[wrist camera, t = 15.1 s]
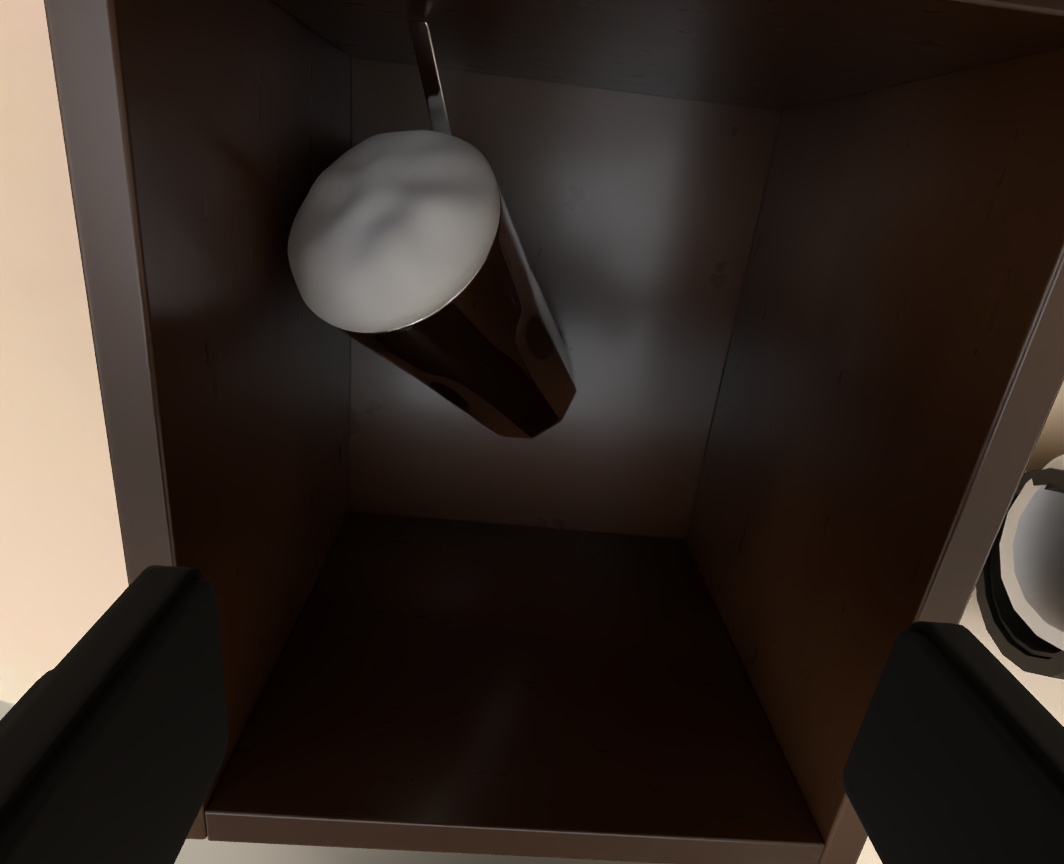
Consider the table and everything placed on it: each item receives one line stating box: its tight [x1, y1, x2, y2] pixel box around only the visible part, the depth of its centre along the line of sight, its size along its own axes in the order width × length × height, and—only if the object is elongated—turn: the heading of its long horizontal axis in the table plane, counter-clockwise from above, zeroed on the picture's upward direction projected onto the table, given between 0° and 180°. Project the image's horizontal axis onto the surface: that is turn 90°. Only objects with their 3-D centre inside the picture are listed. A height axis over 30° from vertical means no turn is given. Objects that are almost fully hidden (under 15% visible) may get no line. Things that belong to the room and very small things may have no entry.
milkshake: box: [287, 20, 577, 439], centre depth 16 cm, size 4×5×10 cm
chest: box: [44, 0, 1064, 864], centre depth 16 cm, size 16×14×12 cm
